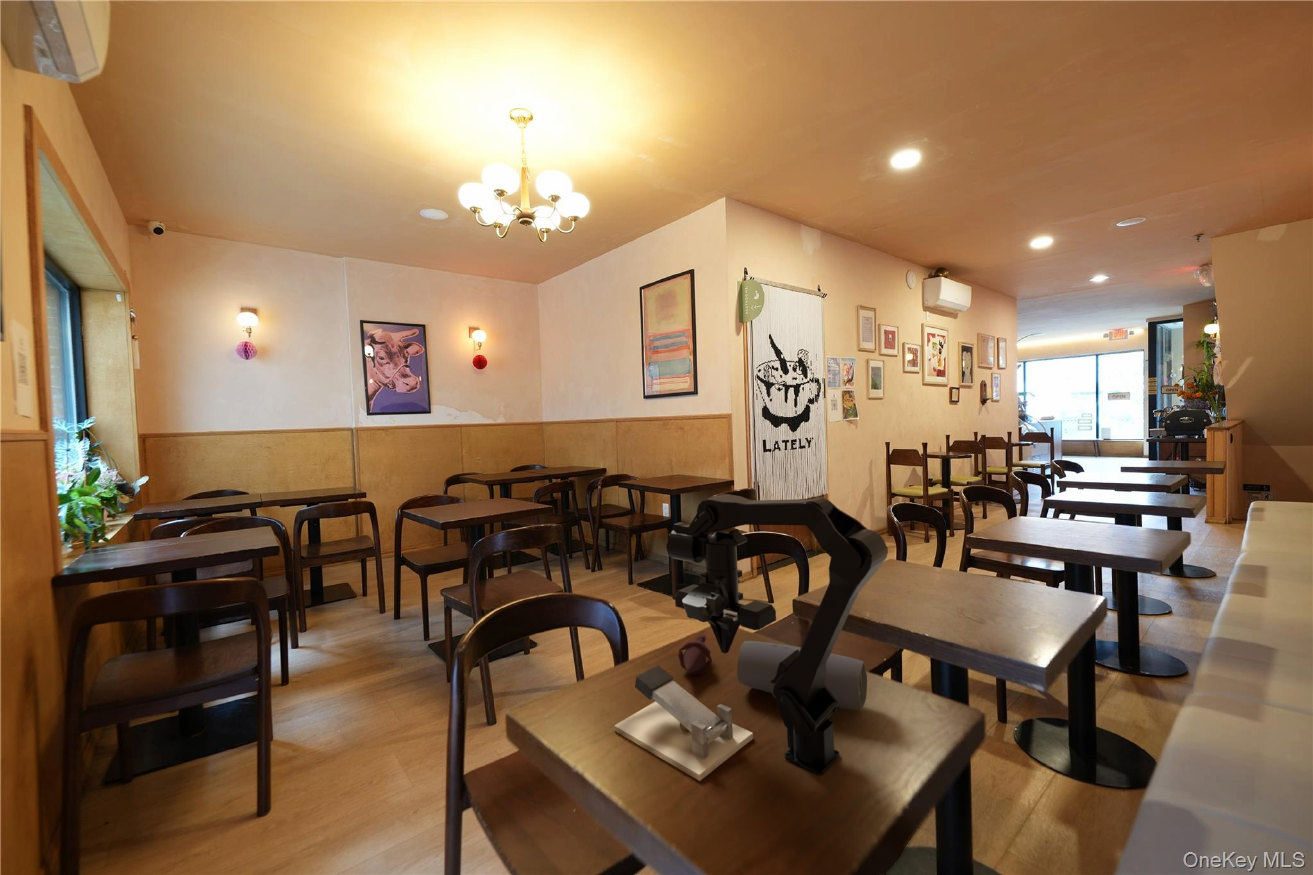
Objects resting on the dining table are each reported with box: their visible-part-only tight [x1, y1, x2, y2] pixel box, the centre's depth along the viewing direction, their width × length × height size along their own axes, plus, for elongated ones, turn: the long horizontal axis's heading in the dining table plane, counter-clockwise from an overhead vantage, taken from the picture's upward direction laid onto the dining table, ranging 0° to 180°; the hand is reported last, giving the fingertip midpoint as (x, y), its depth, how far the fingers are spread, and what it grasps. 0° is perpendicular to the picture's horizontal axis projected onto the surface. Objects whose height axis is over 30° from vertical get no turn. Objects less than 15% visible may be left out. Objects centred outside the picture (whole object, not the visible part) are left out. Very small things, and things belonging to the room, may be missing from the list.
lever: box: [634, 665, 727, 745], centre depth 95 cm, size 17×6×2 cm, turn 45°
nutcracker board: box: [613, 700, 754, 782], centre depth 95 cm, size 20×14×6 cm
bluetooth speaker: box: [736, 640, 868, 711], centre depth 104 cm, size 23×9×10 cm, turn 60°
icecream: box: [677, 634, 713, 675], centre depth 117 cm, size 7×7×15 cm
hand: (725, 652), depth 97 cm, fingers closed
